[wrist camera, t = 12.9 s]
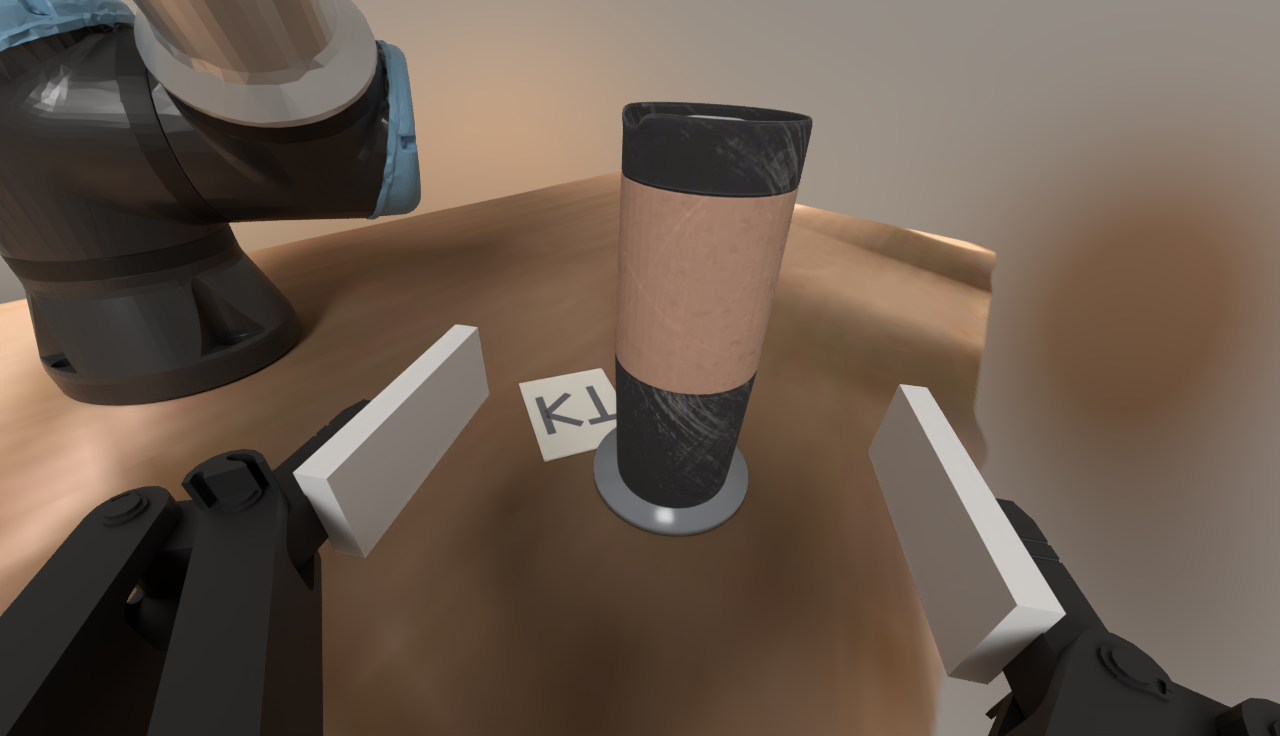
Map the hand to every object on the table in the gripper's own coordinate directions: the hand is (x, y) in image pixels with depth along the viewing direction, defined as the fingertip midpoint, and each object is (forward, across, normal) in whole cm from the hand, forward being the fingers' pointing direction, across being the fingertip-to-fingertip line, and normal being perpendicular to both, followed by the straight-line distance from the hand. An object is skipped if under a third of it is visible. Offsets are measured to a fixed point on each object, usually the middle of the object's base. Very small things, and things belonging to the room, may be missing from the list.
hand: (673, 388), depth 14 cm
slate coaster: (+9, 0, -13) cm, 16 cm away
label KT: (+14, -8, -13) cm, 21 cm away
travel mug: (+9, 0, -13) cm, 16 cm away
